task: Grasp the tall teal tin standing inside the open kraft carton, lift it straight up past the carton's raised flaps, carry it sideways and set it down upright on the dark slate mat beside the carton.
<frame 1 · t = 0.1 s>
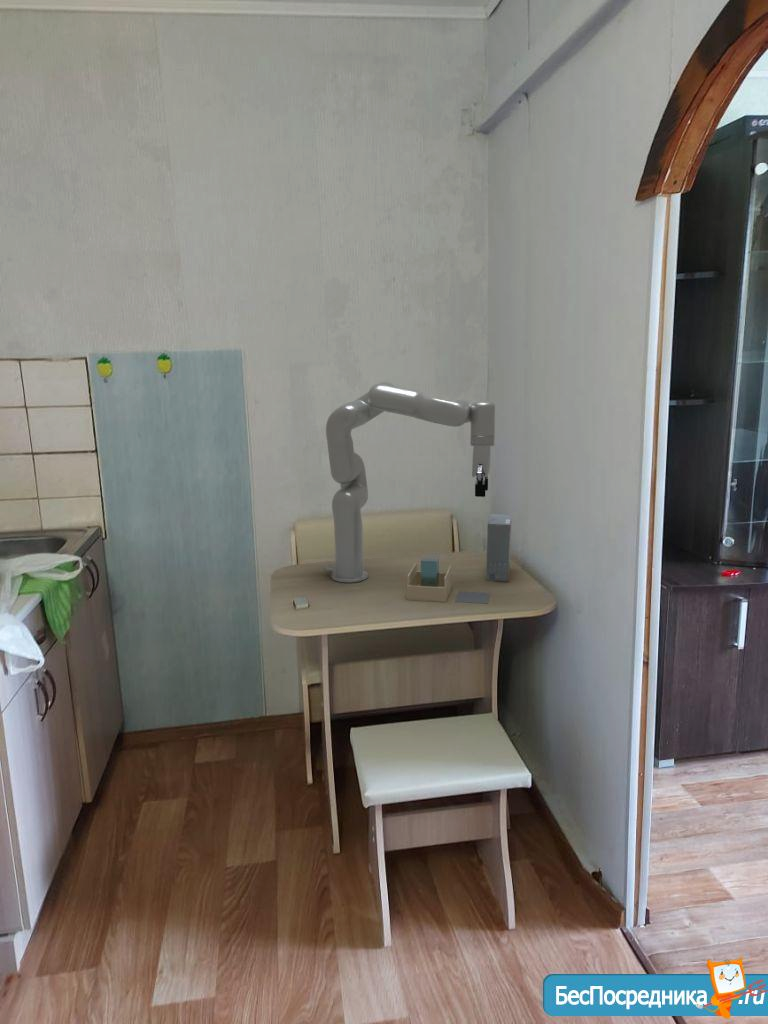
hand: (481, 493, 243), 31 cm above the table, tool pointing down, fingers open, 9 cm apart
tin: (429, 592, 242), resting on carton
hard drive box: (498, 575, 261), on the table
mat: (472, 598, 238), on the table
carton: (429, 594, 243), on the table
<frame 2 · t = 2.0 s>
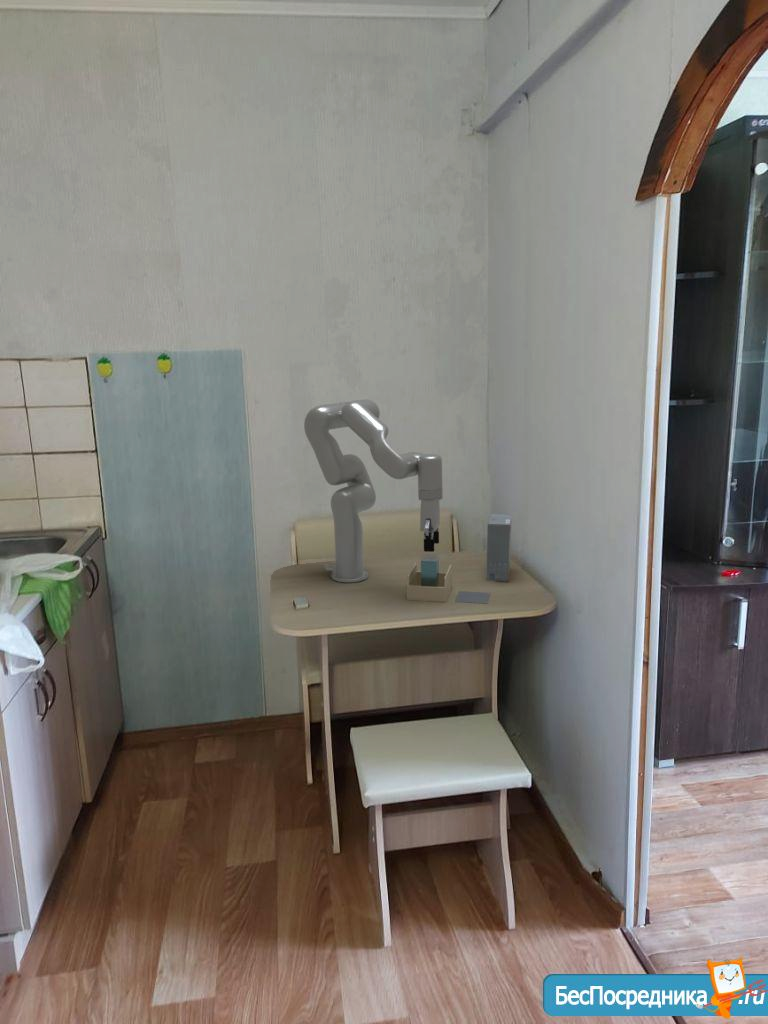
hand: (431, 547, 239), 16 cm above the table, tool pointing down, fingers open, 9 cm apart
nothing on the table moved.
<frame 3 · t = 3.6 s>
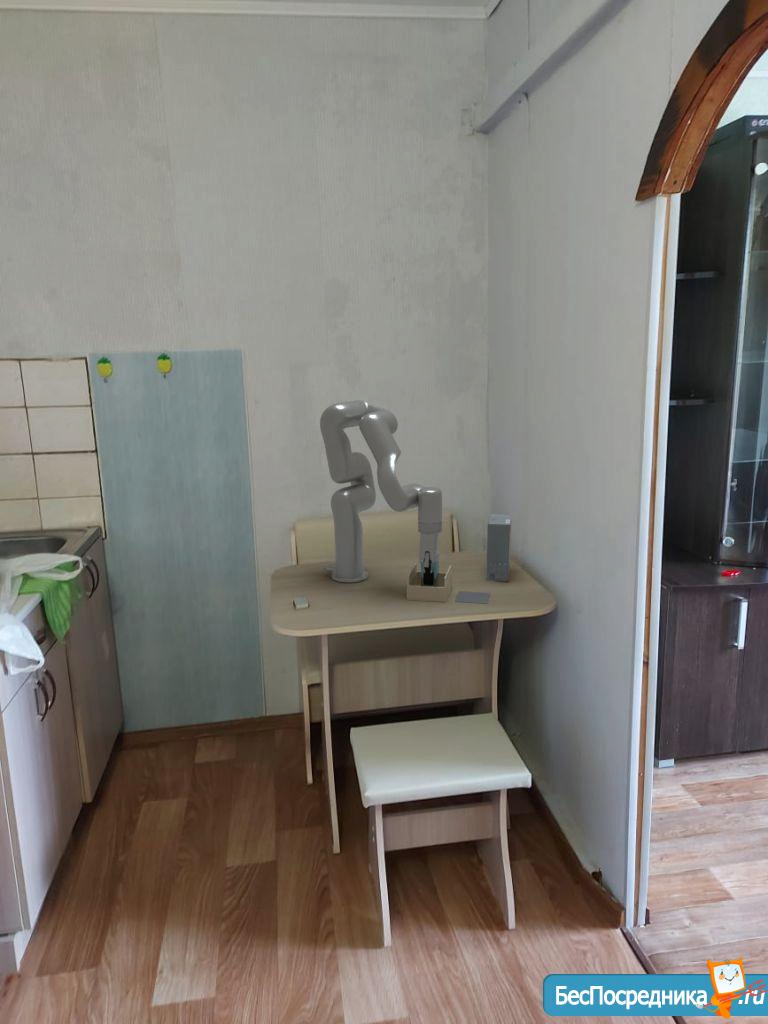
hand: (429, 581, 242), 4 cm above the table, tool pointing down, fingers closed on tin, 5 cm apart
tin: (429, 592, 242), resting on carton, touching gripper
everything else where it was.
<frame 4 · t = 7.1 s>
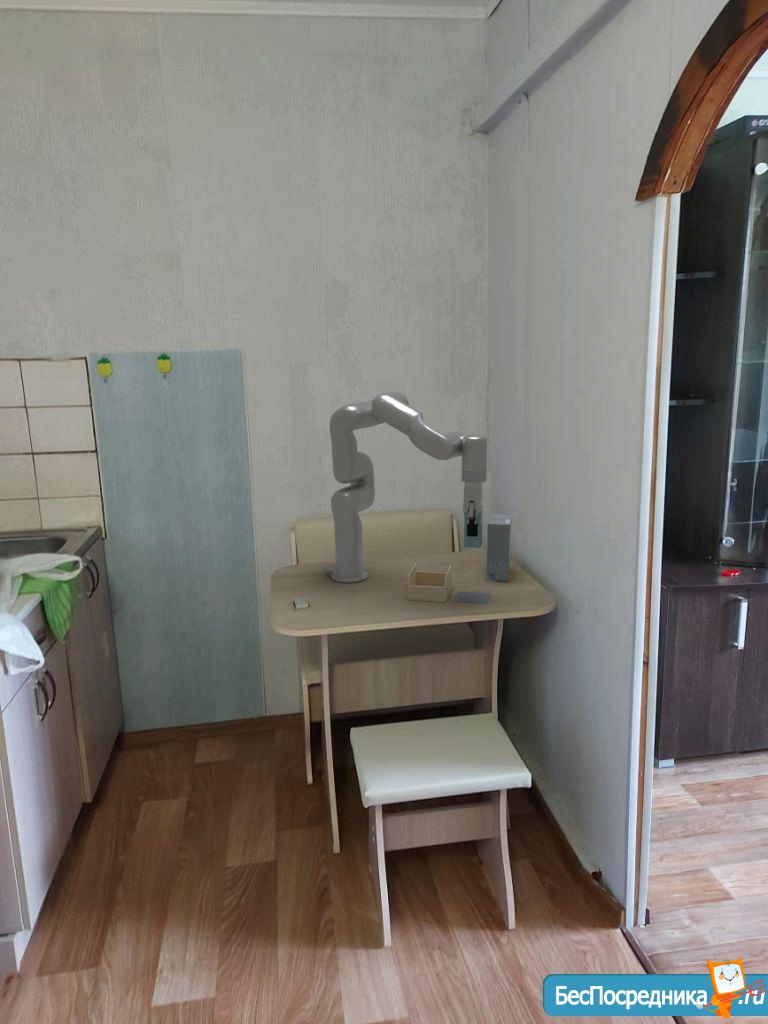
hand: (473, 533, 233), 21 cm above the table, tool pointing down, fingers closed on tin, 5 cm apart
tin: (473, 545, 234), point 18 cm above the table, touching gripper
everything else where it was.
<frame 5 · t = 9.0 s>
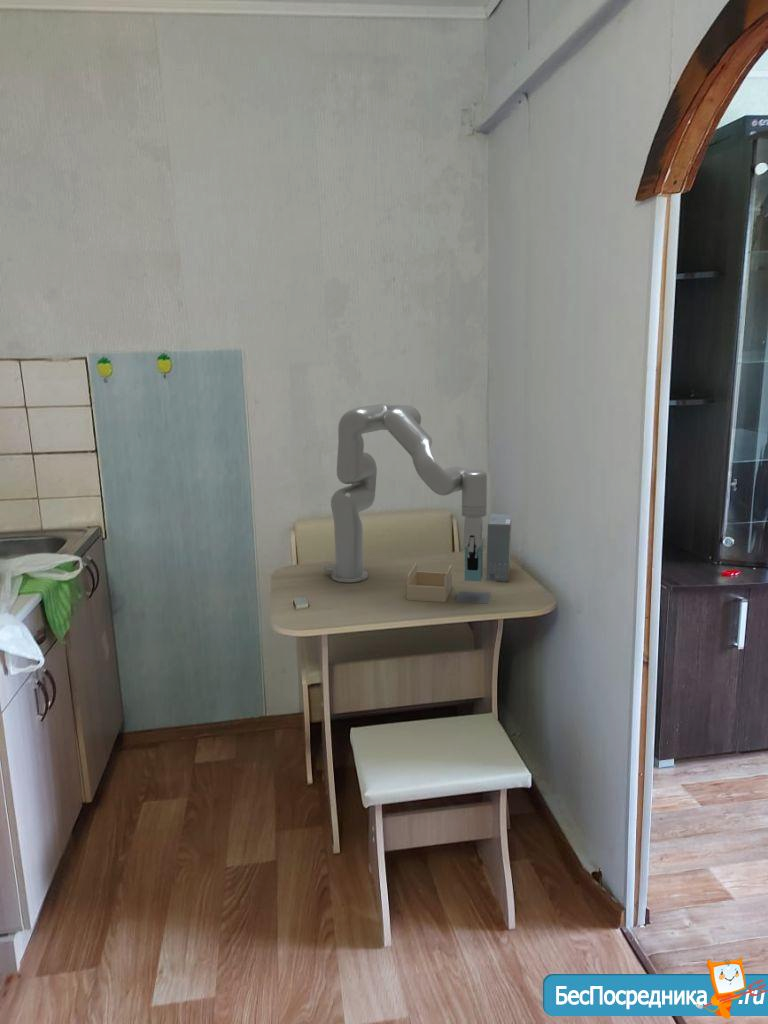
hand: (473, 566, 235), 11 cm above the table, tool pointing down, fingers closed on tin, 5 cm apart
tin: (473, 578, 236), point 7 cm above the table, touching gripper
everything else where it was.
when the fingers open (6 cm above the table, at t = 10.7 s): tin drops 2 cm, resting on mat.
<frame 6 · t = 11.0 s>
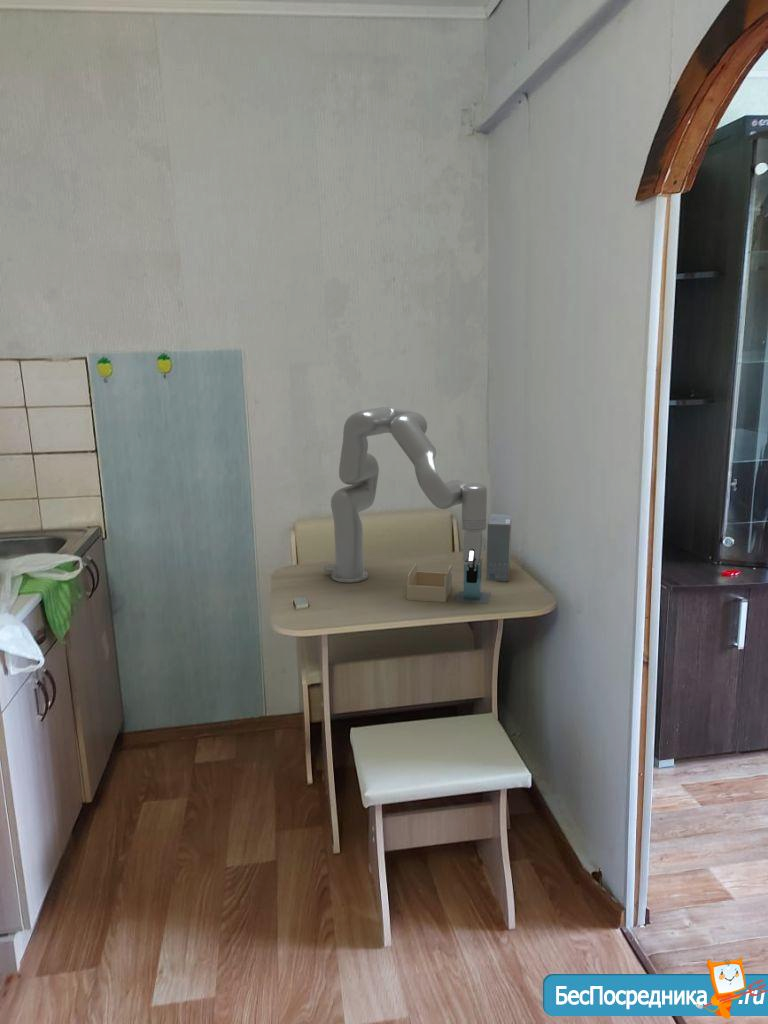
hand: (473, 578, 236), 7 cm above the table, tool pointing down, fingers open, 7 cm apart
tin: (472, 596, 238), point 1 cm above the table, touching mat
everything else where it was.
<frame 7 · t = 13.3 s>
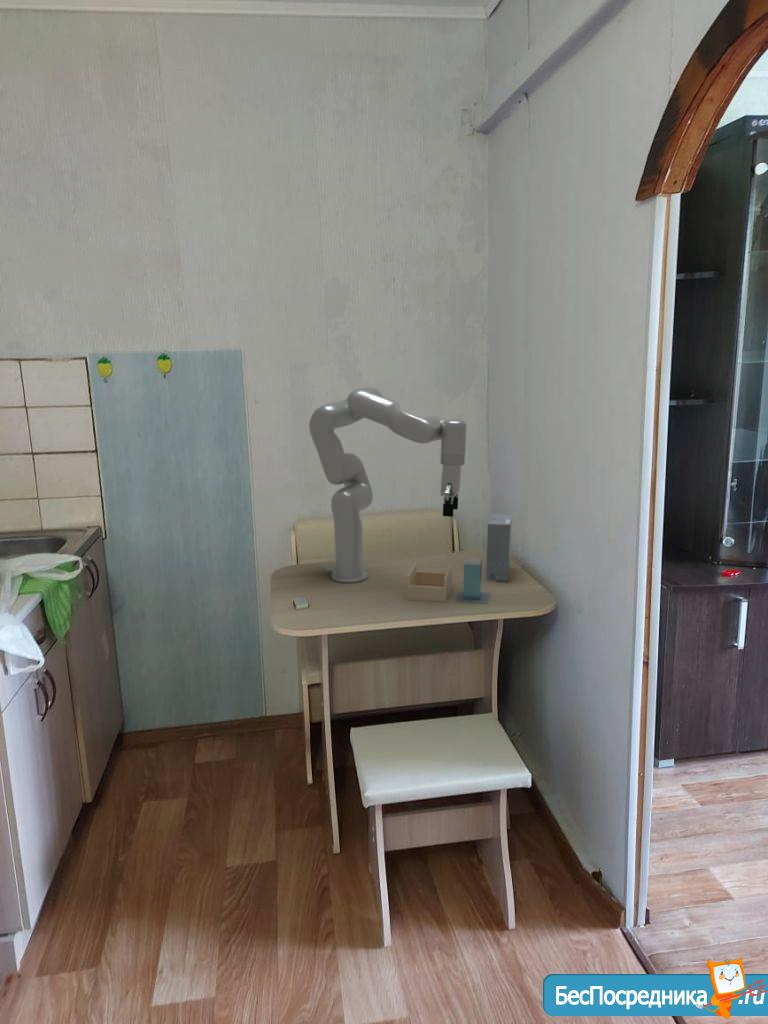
hand: (450, 512, 239), 26 cm above the table, tool pointing down, fingers open, 9 cm apart
nothing on the table moved.
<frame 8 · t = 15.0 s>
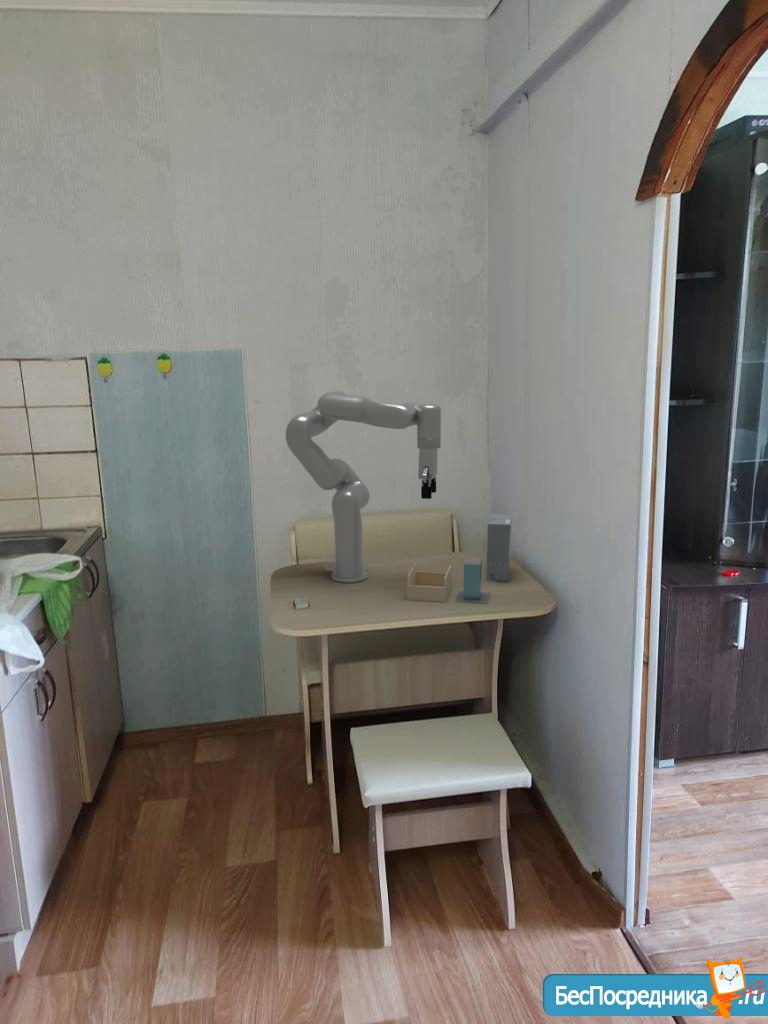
hand: (428, 495, 245), 30 cm above the table, tool pointing down, fingers open, 9 cm apart
nothing on the table moved.
at the end: tin inside the target area on the mat (0.3 cm from its centre), point 0.6 cm above the mat's base; tin tilted 0°; the gripper is holding nothing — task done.
